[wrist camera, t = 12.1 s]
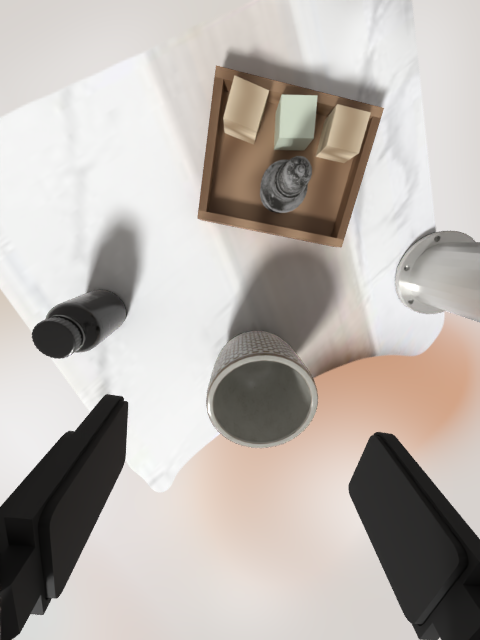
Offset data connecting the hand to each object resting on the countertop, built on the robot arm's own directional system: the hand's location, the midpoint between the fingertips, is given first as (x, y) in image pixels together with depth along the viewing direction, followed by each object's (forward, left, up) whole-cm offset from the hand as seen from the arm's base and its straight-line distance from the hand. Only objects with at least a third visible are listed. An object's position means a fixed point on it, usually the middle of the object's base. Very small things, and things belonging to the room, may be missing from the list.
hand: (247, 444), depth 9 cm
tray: (-3, -17, -30) cm, 35 cm away
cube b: (-3, -21, -30) cm, 37 cm away
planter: (-5, +11, -31) cm, 33 cm away
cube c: (+3, -21, -30) cm, 37 cm away
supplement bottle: (+20, +7, -31) cm, 37 cm away
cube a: (-9, -21, -30) cm, 38 cm away
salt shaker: (-3, -14, -30) cm, 33 cm away
